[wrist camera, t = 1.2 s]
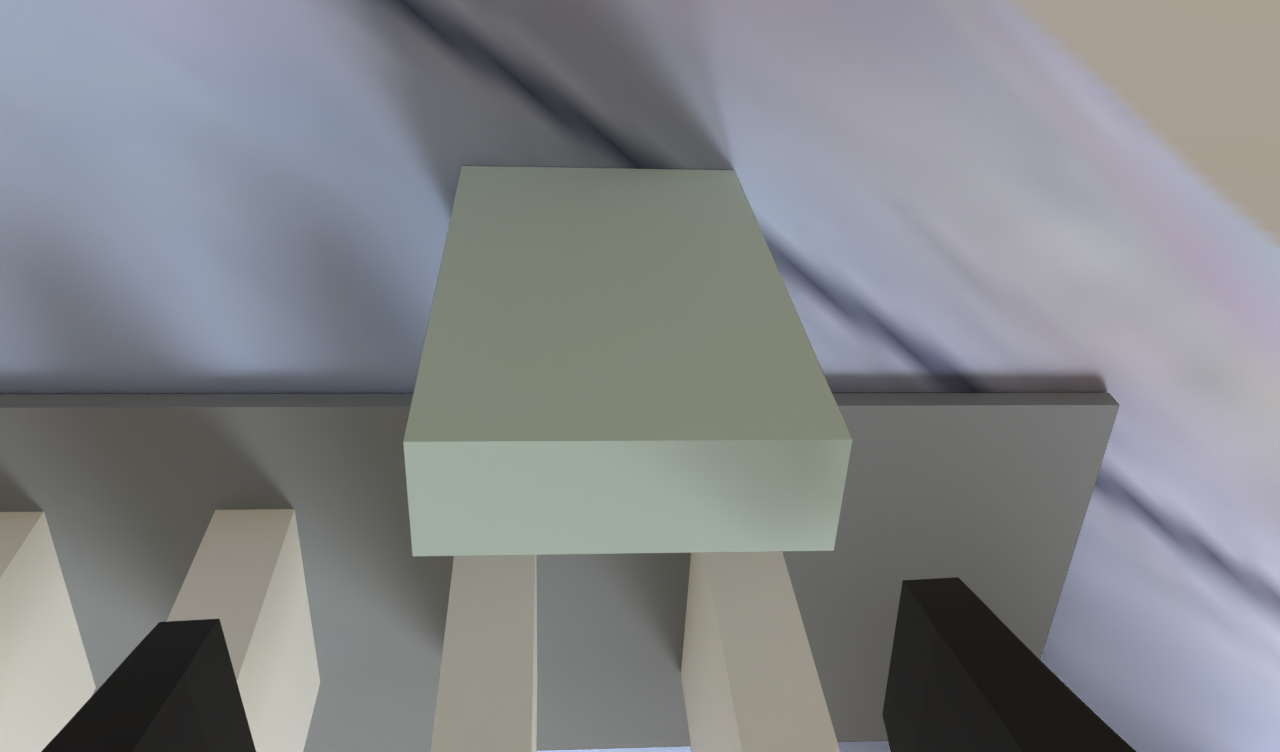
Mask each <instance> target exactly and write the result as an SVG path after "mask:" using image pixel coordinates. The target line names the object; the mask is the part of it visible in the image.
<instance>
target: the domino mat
mask: <svg viewBox="0 0 1280 752" xmlns="http://www.w3.org/2000/svg"><path fill="white" fill-rule="evenodd" d="M832 394H833V396H834V399H835V401H836V403H837V406H838V408H839V410H840V412H841V415H842V417H843V419H844V422H845V424H846V426H847V428H848V431H849V433H850V435H851V438H852V445H851V451H850V457H849V463H848V469H847V475H846V481H845V487H844V493H843V498H842V504H841V510H840V516H839V522H838V528H837V534H836V540H835V546H834V551H782V552H783V556H784V559H785V562H786V566H787V569H788V573H789V576H790V580H791V583H792V587H793V590H794V594H795V597H796V601H797V604H798V607H799V611H800V614H801V618H802V621H803V625H804V628H805V632H806V635H807V639H808V642H809V645H810V649H811V652H812V656H813V659H814V663H815V666H816V670H817V673H818V677H819V680H820V684H821V687H822V690H823V694H824V697H825V701H826V704H827V708H828V711H829V715H830V718H831V722H832V725H833V729H834V732H835V735H836V739H837V742H853V741H888V737H887V733H886V728H885V724H884V720H883V716H882V713H883V707H884V700H885V693H886V687H887V680H888V674H889V667H890V660H891V654H892V647H893V641H894V634H895V627H896V621H897V614H898V608H899V601H900V594H901V588H902V581H903V580H918V579H936V578H953V577H959V578H960V579H961V580H962V581H963V582H964V583H965V584H966V585H967V586H968V587H969V588H970V589H971V590H972V591H973V592H974V593H975V594H976V595H977V596H978V597H979V598H980V599H981V600H982V601H983V602H984V603H985V604H986V605H987V607H988V608H989V609H990V610H991V611H992V612H993V613H994V614H995V615H996V616H997V617H998V618H999V619H1000V620H1001V621H1002V622H1003V623H1004V624H1005V625H1006V626H1007V627H1008V628H1009V629H1010V630H1011V631H1012V632H1013V633H1014V634H1015V635H1016V636H1017V637H1018V638H1019V639H1020V640H1021V641H1022V642H1023V643H1024V644H1025V645H1026V646H1027V647H1028V648H1029V649H1030V650H1031V651H1032V652H1033V653H1034V654H1035V655H1036V656H1037V657H1038V658H1039V659H1040V658H1041V655H1042V651H1043V648H1044V645H1045V642H1046V639H1047V635H1048V632H1049V629H1050V626H1051V623H1052V619H1053V616H1054V613H1055V610H1056V607H1057V603H1058V600H1059V597H1060V594H1061V591H1062V587H1063V584H1064V581H1065V578H1066V575H1067V571H1068V568H1069V565H1070V562H1071V559H1072V555H1073V552H1074V549H1075V546H1076V543H1077V539H1078V536H1079V533H1080V530H1081V527H1082V523H1083V520H1084V517H1085V514H1086V511H1087V507H1088V504H1089V501H1090V498H1091V495H1092V491H1093V488H1094V485H1095V482H1096V479H1097V475H1098V472H1099V469H1100V466H1101V463H1102V459H1103V456H1104V453H1105V450H1106V447H1107V443H1108V440H1109V437H1110V434H1111V431H1112V427H1113V424H1114V421H1115V418H1116V415H1117V411H1118V408H1119V404H1118V403H1117V402H1116V400H1115V399H1114V398H1113V397H1112V396H1111V395H1110V394H1109V393H832ZM412 398H413V394H0V512H44V513H45V517H46V520H47V524H48V527H49V530H50V534H51V537H52V540H53V544H54V547H55V551H56V554H57V557H58V561H59V564H60V568H61V571H62V574H63V578H64V581H65V585H66V588H67V591H68V595H69V598H70V602H71V605H72V608H73V612H74V615H75V619H76V622H77V625H78V629H79V632H80V636H81V639H82V642H83V646H84V649H85V653H86V656H87V659H88V663H89V666H90V670H91V673H92V676H93V680H94V683H95V686H96V688H95V690H94V692H93V694H94V693H95V692H96V691H97V690H98V689H99V688H100V687H101V685H102V684H103V683H104V682H105V681H106V680H107V679H108V678H109V676H110V675H111V674H112V673H113V672H114V671H115V670H116V669H117V668H118V666H119V665H120V664H121V663H122V662H123V661H124V660H125V659H126V658H127V656H128V655H129V654H130V653H131V652H132V651H133V650H134V649H135V648H136V647H137V645H138V644H139V643H140V642H141V641H142V640H143V639H144V638H145V637H146V636H147V635H148V634H149V633H150V631H151V630H152V629H153V628H154V627H155V626H156V625H157V624H158V623H159V622H166V621H167V619H168V617H169V615H170V612H171V610H172V608H173V605H174V603H175V601H176V599H177V596H178V594H179V592H180V589H181V587H182V585H183V583H184V580H185V578H186V576H187V573H188V571H189V569H190V567H191V564H192V562H193V560H194V558H195V555H196V553H197V551H198V548H199V546H200V544H201V542H202V539H203V537H204V535H205V532H206V530H207V528H208V526H209V523H210V521H211V519H212V517H213V514H214V512H215V510H254V509H295V515H296V522H297V529H298V536H299V542H300V549H301V556H302V562H303V569H304V576H305V583H306V589H307V596H308V603H309V610H310V616H311V623H312V630H313V637H314V643H315V650H316V657H317V664H318V670H319V677H320V686H319V690H318V694H317V698H316V702H315V706H314V710H313V714H312V718H311V722H310V726H309V730H308V734H307V739H306V743H305V747H304V751H303V752H431V745H432V737H433V728H434V720H435V711H436V703H437V694H438V686H439V678H440V669H441V661H442V652H443V644H444V635H445V627H446V619H447V610H448V602H449V593H450V585H451V577H452V568H453V560H454V556H413V555H412V543H411V531H410V519H409V506H408V494H407V482H406V470H405V458H404V445H403V441H404V436H405V431H406V426H407V422H408V417H409V412H410V408H411V403H412ZM690 560H691V553H621V554H548V555H536V572H537V740H536V751H542V750H576V749H611V748H645V747H680V746H691V742H690V735H689V728H688V721H687V714H686V707H685V700H684V692H683V685H682V678H681V667H682V655H683V643H684V631H685V619H686V608H687V596H688V584H689V572H690Z"/></svg>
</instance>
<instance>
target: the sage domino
mask: <svg viewBox="0 0 1280 752" xmlns="http://www.w3.org/2000/svg"><path fill="white" fill-rule="evenodd" d="M403 445H404V458H405V470H406V482H407V494H408V506H409V519H410V531H411V543H412V555H413V556H474V555H548V554H621V553H694V552H767V551H834V546H835V540H836V534H837V528H838V522H839V516H840V510H841V504H842V498H843V493H844V487H845V481H846V475H847V469H848V463H849V457H850V451H851V445H852V438H851V435H850V433H849V431H848V428H847V426H846V424H845V422H844V419H843V417H842V415H841V412H840V410H839V408H838V406H837V403H836V401H835V399H834V396H833V394H832V392H831V390H830V387H829V385H828V383H827V380H826V378H825V376H824V374H823V371H822V369H821V367H820V364H819V362H818V360H817V358H816V355H815V353H814V351H813V348H812V346H811V344H810V342H809V339H808V337H807V335H806V332H805V330H804V328H803V325H802V323H801V321H800V319H799V316H798V314H797V312H796V309H795V307H794V305H793V303H792V300H791V298H790V296H789V293H788V291H787V289H786V287H785V284H784V282H783V280H782V277H781V275H780V273H779V271H778V268H777V266H776V264H775V261H774V259H773V257H772V255H771V252H770V250H769V248H768V245H767V243H766V241H765V239H764V236H763V234H762V232H761V229H760V227H759V225H758V223H757V220H756V218H755V216H754V213H753V211H752V209H751V207H750V204H749V202H748V200H747V197H746V195H745V193H744V191H743V188H742V186H741V184H740V181H739V179H738V177H737V175H736V172H735V170H686V169H625V168H563V167H502V166H462V167H461V171H460V176H459V181H458V185H457V190H456V195H455V200H454V204H453V209H452V214H451V218H450V223H449V228H448V233H447V237H446V242H445V247H444V252H443V256H442V261H441V266H440V270H439V275H438V280H437V285H436V289H435V294H434V299H433V304H432V308H431V313H430V318H429V322H428V327H427V332H426V337H425V341H424V346H423V351H422V356H421V360H420V365H419V370H418V374H417V379H416V384H415V389H414V393H413V398H412V403H411V408H410V412H409V417H408V422H407V426H406V431H405V436H404V441H403Z"/></svg>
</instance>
